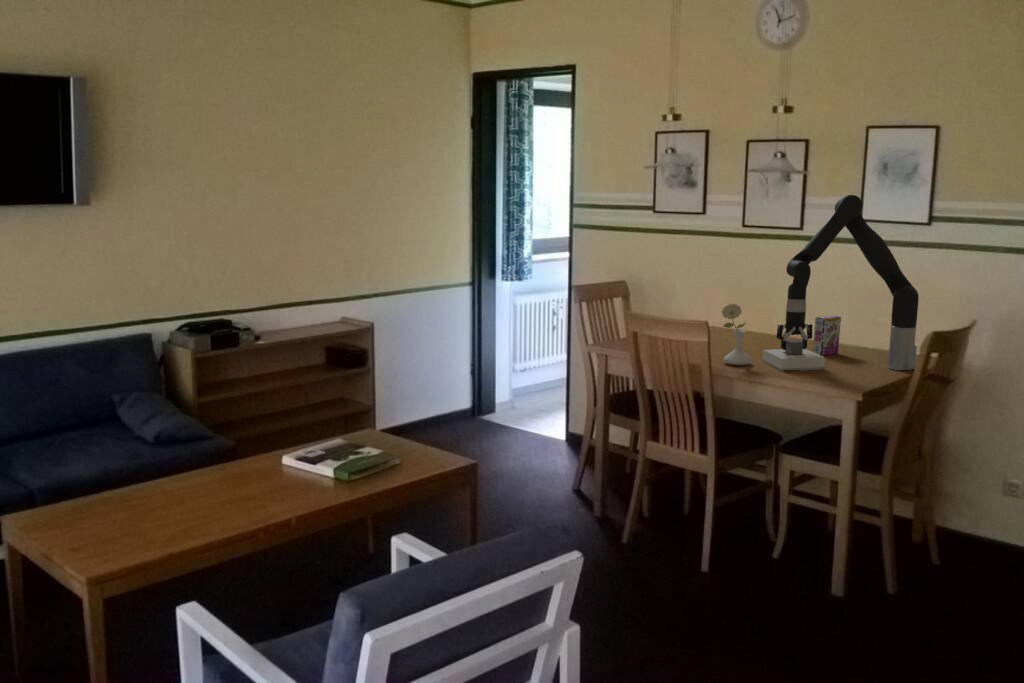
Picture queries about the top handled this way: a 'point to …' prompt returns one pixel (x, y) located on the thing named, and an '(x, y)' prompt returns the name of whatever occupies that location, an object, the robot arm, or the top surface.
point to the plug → (794, 347)
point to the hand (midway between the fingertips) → (793, 349)
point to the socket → (793, 360)
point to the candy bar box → (826, 335)
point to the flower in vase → (737, 354)
